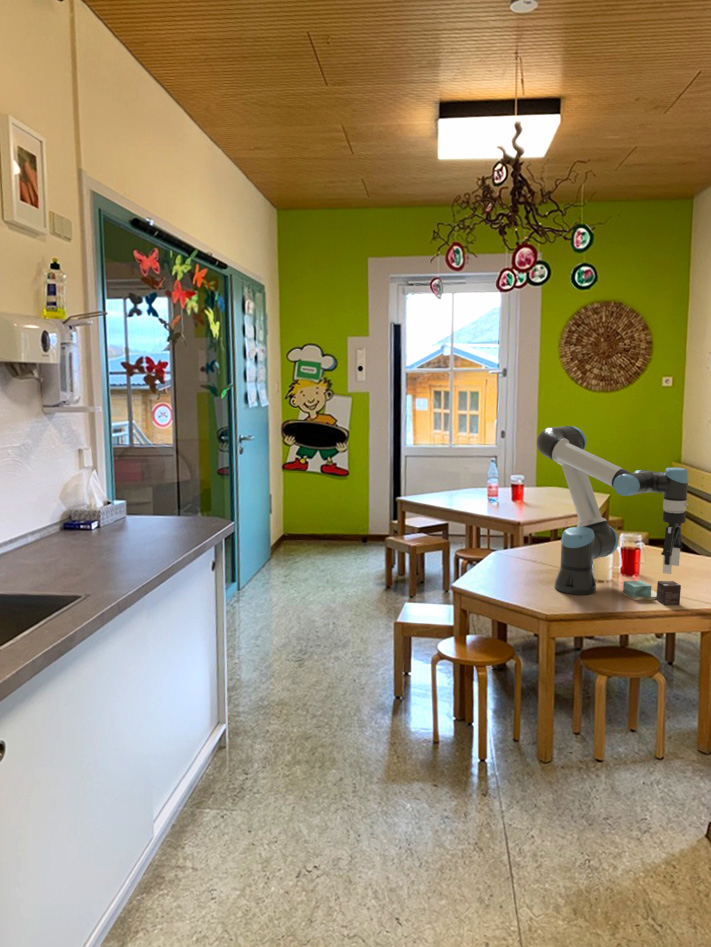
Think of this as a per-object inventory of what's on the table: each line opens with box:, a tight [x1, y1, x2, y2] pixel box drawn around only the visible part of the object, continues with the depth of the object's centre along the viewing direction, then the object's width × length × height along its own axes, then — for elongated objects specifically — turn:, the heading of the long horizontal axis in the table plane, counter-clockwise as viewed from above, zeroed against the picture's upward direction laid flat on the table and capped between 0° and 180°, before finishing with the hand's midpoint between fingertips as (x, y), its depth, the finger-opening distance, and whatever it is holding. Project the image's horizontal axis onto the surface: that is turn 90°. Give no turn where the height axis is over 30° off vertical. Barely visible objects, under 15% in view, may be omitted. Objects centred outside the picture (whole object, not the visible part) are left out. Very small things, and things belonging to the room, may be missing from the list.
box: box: [655, 580, 682, 606], centre depth 258 cm, size 6×6×7 cm
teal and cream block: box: [621, 580, 657, 601], centre depth 265 cm, size 12×8×5 cm, turn 100°
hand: (671, 569), depth 256 cm, fingers open, 13 cm apart
